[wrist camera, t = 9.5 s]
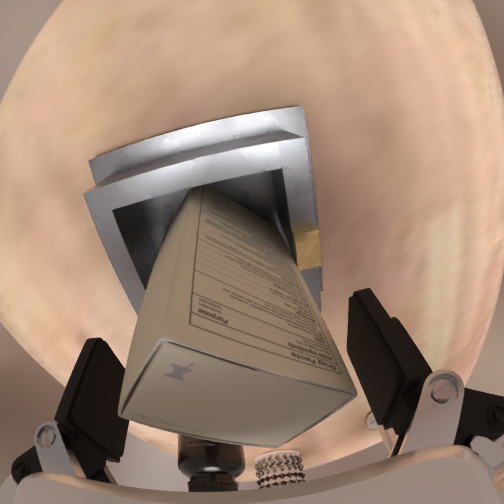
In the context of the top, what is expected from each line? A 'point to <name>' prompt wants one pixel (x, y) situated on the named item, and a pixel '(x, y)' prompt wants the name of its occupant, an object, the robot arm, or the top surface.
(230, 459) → the supplement bottle
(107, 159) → the socket
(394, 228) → the top surface
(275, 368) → the skincare box
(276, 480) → the decorative candle
